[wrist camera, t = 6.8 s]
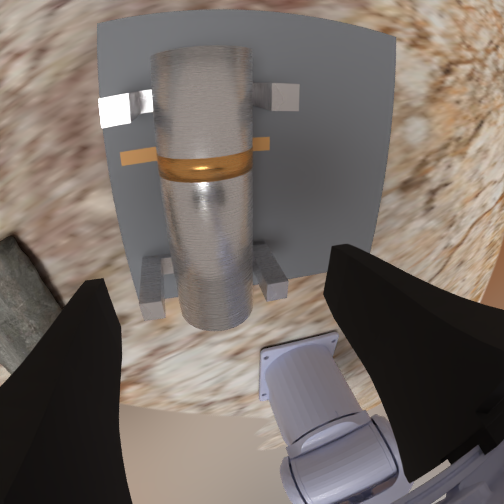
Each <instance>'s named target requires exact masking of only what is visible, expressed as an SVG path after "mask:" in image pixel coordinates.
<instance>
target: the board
mask: <svg viewBox="0 0 504 504" xmlns="http://www.w3.org/2000/svg"><path fill="white" fill-rule="evenodd" d="M212 45H225V46H240V47H247V48H251V49H252V83H287V84H300V89H299V111H270V110H267V109H263V108H260V107H256V106H253V242H255V241H263V240H265V242H266V244H267V245H268V247H269V249H270V250H271V252H272V254H273V255H274V257H275V259H276V260H277V262H278V264H279V266H280V267H281V269H282V271H283V272H284V274H285V276H286V277H287V279H292V278H297V277H303V276H308V275H314V274H319V273H325V272H327V271H328V265H329V259H330V253H331V247H332V246H334V245H341V244H350V245H353V246H355V247H357V248H359V249H362V250H364V251H366V252H368V253H370V250H371V246H372V241H373V236H374V232H375V227H376V222H377V217H378V212H379V207H380V201H381V196H382V190H383V184H384V178H385V171H386V164H387V157H388V150H389V142H390V133H391V124H392V113H393V101H394V87H395V66H396V37H394V36H391V35H388V34H385V33H381V32H378V31H374V30H371V29H367V28H363V27H359V26H355V25H351V24H347V23H342V22H338V21H333V20H328V19H322V18H316V17H310V16H304V15H297V14H289V13H280V12H269V11H255V10H188V11H174V12H164V13H155V14H147V15H140V16H133V17H127V18H122V19H116V20H111V21H107V22H102V23H98V24H97V57H98V80H99V95H100V99H101V98H105V97H110V96H115V95H121V94H126V93H132V92H138V91H145V90H152V85H151V59H150V56H151V55H153V54H155V53H158V52H162V51H166V50H171V49H177V48H185V47H194V46H212ZM103 135H104V143H105V150H106V157H107V163H108V170H109V176H110V182H111V187H112V193H113V198H114V203H115V208H116V213H117V218H118V222H119V227H120V231H121V236H122V240H123V244H124V248H125V252H126V256H127V260H128V264H129V268H130V271H131V275H132V279H133V282H134V286H135V289H136V293H137V296H138V299H139V295H140V279H141V266H142V257H148V256H155V255H162V254H169V253H170V249H169V242H168V236H167V230H166V223H165V216H164V209H163V202H162V195H161V187H160V179H159V172H158V163H157V153H156V152H157V151H156V141H155V129H154V117H153V112H148V113H141V114H139V115H138V116H137V117H136V118H135V119H134V120H133V121H132V122H131V123H127V124H121V125H115V126H110V127H105V128H103ZM257 284H258V281H257V279H256V277H255V275H254V273H253V285H257ZM164 296H165V299H167V298H174V297H178V293H177V287H176V282H175V277H174V273H172V274H165V275H164Z"/></svg>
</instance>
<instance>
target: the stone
mask: <svg viewBox="0 0 504 504" xmlns="http://www.w3.org/2000/svg"><path fill="white" fill-rule="evenodd" d="M61 311H62V309H61V308H60V306H59V305H58V303H57V302H56V300H55V299H54V297H53V296H52V294H51V293H50V291H49V290H48V288H47V287H46V285H45V284H44V283H43V281H42V280H41V278H40V276H39V274H38V272H37V270H36V268H35V267H34V266H33V264H32V263H31V261H30V259H29V258H28V256H27V255H26V254H25V253H24V252H23V251H22V250H21V249H20V248H19V246H18V244H17V242H16V240H15V238H14V237H12V236H10V237H7V238H5V239H4V240H2V241H1V242H0V364H1V365H3V366H4V367H5V368H6V370H7V371H8V372H9V373H10V374H11V375H12V374H13V372H14V371H15V370H16V369H17V368H18V367H19V366H20V364H21V363H22V362H23V361H24V360H25V358H26V357H27V356H28V355H29V353H30V352H31V351H32V350H33V348H34V347H35V346H36V344H37V343H38V342H39V340H40V339H41V338H42V336H43V335H44V334H45V333H46V331H47V330H48V329H49V328H50V326H51V325H52V324H53V322H54V321H55V319H56V318H57V317H58V315H59V314H60V313H61Z"/></svg>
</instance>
